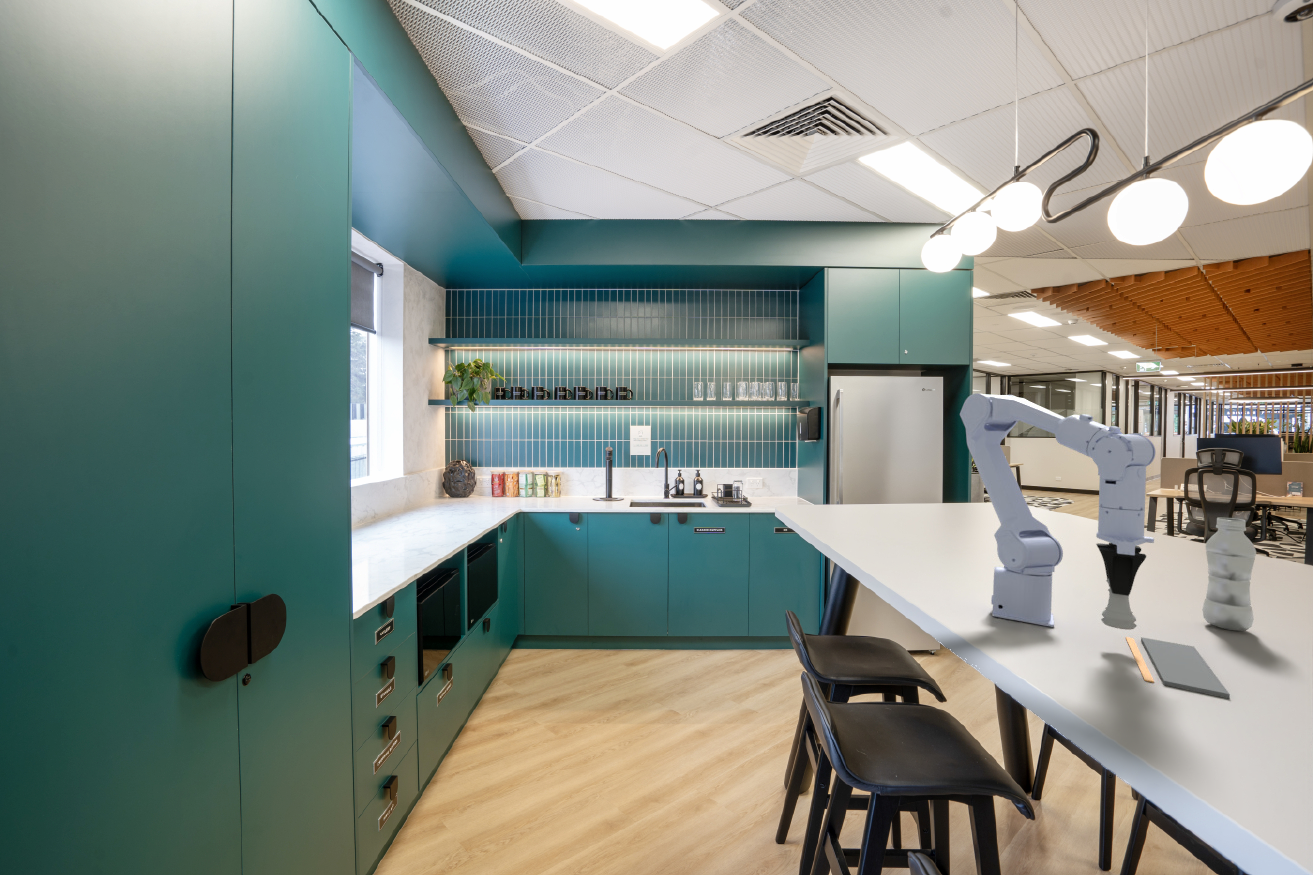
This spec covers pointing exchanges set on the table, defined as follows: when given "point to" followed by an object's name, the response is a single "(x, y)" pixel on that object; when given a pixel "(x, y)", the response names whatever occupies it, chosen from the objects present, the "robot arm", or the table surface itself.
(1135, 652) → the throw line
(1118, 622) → the rook chess piece
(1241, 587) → the plastic bottle
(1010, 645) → the table surface
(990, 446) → the robot arm
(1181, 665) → the mat
